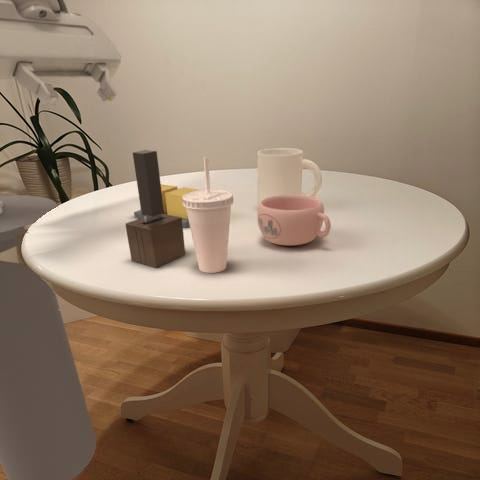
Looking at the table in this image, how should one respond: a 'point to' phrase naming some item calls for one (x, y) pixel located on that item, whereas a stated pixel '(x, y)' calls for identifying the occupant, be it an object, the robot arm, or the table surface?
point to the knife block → (156, 240)
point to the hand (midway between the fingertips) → (83, 99)
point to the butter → (175, 200)
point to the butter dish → (184, 221)
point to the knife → (149, 185)
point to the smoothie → (209, 224)
